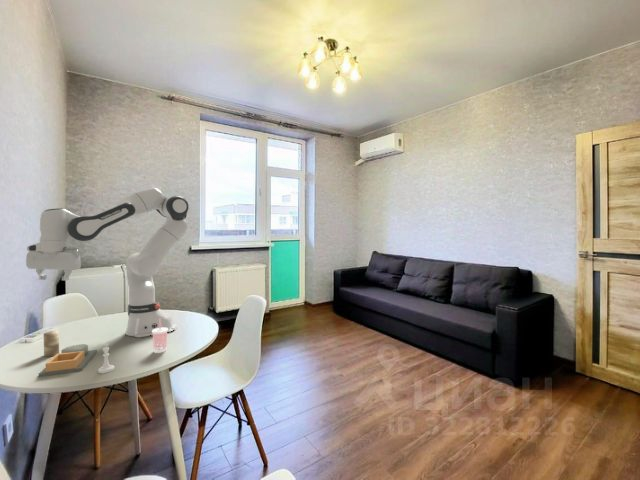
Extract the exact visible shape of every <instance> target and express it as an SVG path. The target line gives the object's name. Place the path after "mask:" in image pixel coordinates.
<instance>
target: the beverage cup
mask: <svg viewBox="0 0 640 480" xmlns="http://www.w3.org/2000/svg"><path fill="white" fill-rule="evenodd" d="M167 332H168V328H166V327H161V318H159V328H156V329H153V330H152V334H153V335H152V344H153V352H154V353H155V354H160V353H164V352H166V351H167V346H168V345H167V344H168V343H167V342H168V333H167ZM165 350H166V351H165Z"/></svg>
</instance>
